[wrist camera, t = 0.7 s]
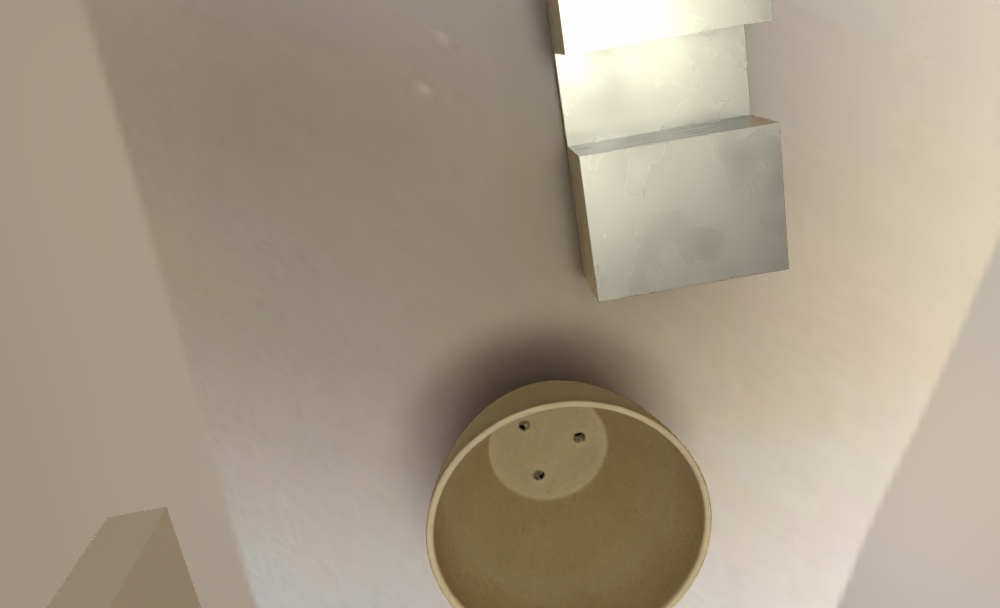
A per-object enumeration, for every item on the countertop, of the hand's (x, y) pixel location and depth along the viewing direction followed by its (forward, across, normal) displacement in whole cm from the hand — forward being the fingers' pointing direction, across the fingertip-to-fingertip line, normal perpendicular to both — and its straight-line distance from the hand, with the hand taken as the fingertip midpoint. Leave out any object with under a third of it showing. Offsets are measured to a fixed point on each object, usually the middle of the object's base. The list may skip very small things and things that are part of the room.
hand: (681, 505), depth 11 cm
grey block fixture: (+24, +5, +6) cm, 25 cm away
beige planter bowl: (+23, -1, -11) cm, 26 cm away
